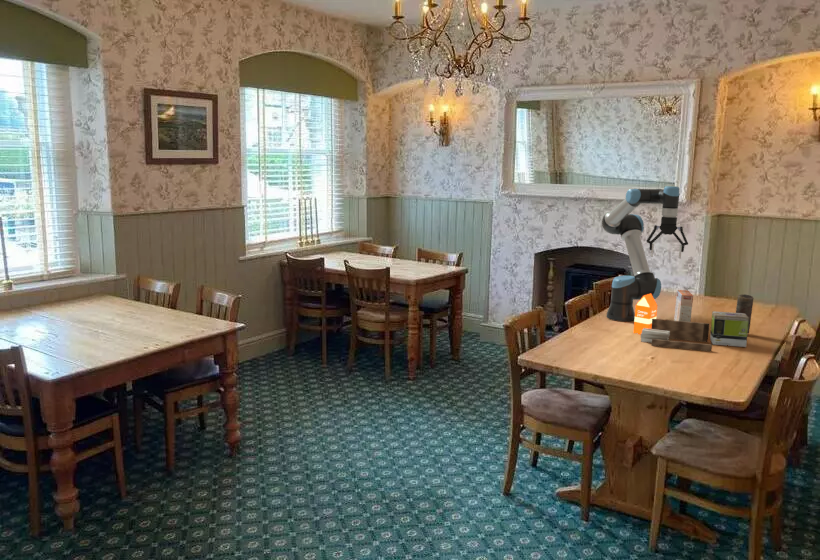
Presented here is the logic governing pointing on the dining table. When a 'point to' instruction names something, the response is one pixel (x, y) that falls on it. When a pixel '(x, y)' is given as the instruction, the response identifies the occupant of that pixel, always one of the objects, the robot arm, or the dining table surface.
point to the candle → (745, 306)
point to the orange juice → (645, 313)
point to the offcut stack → (653, 335)
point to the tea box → (729, 329)
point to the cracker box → (683, 306)
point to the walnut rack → (682, 334)
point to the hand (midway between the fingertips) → (665, 257)
